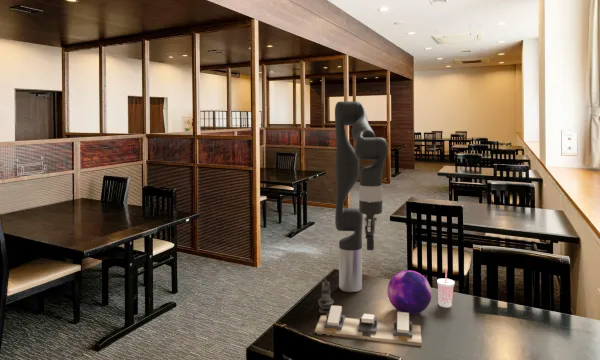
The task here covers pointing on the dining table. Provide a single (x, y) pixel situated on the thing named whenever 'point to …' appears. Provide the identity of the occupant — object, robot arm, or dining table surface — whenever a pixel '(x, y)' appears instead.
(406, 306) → the decorative orb
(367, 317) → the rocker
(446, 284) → the beverage cup
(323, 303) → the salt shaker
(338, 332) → the switch board
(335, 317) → the block
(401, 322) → the block
